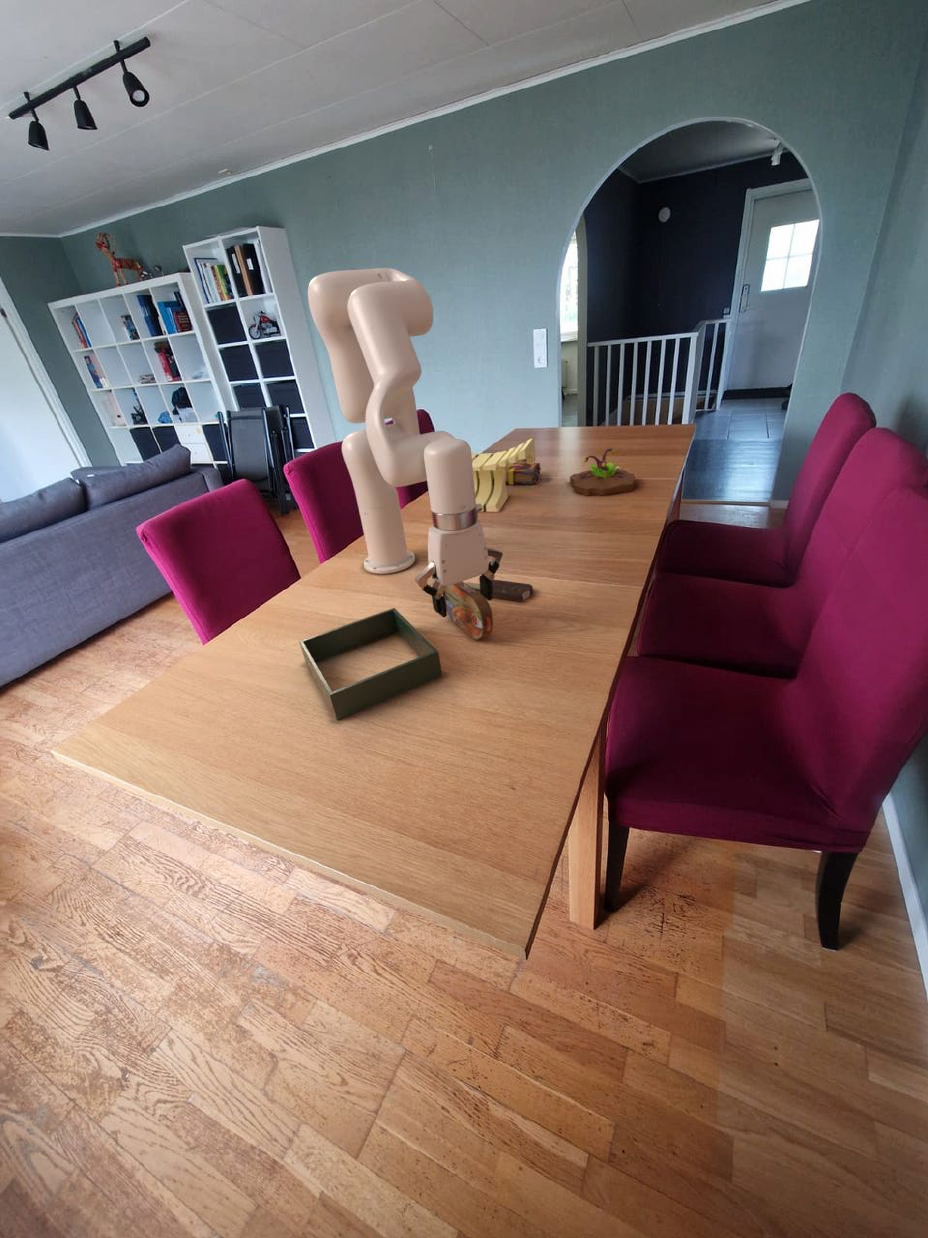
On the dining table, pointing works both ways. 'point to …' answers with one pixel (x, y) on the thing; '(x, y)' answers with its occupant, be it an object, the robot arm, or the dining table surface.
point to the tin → (468, 610)
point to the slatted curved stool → (497, 474)
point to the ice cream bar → (508, 590)
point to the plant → (603, 478)
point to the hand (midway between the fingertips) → (464, 605)
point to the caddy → (381, 683)
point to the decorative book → (523, 473)
